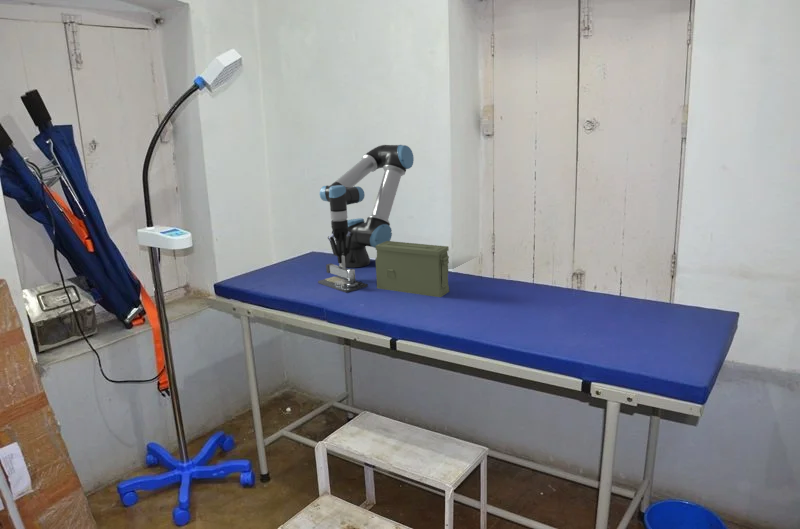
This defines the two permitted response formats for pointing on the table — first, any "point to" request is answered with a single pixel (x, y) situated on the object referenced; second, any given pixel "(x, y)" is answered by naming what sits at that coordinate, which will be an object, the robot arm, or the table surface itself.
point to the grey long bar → (341, 272)
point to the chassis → (342, 284)
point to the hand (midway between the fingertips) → (342, 269)
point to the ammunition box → (412, 268)
